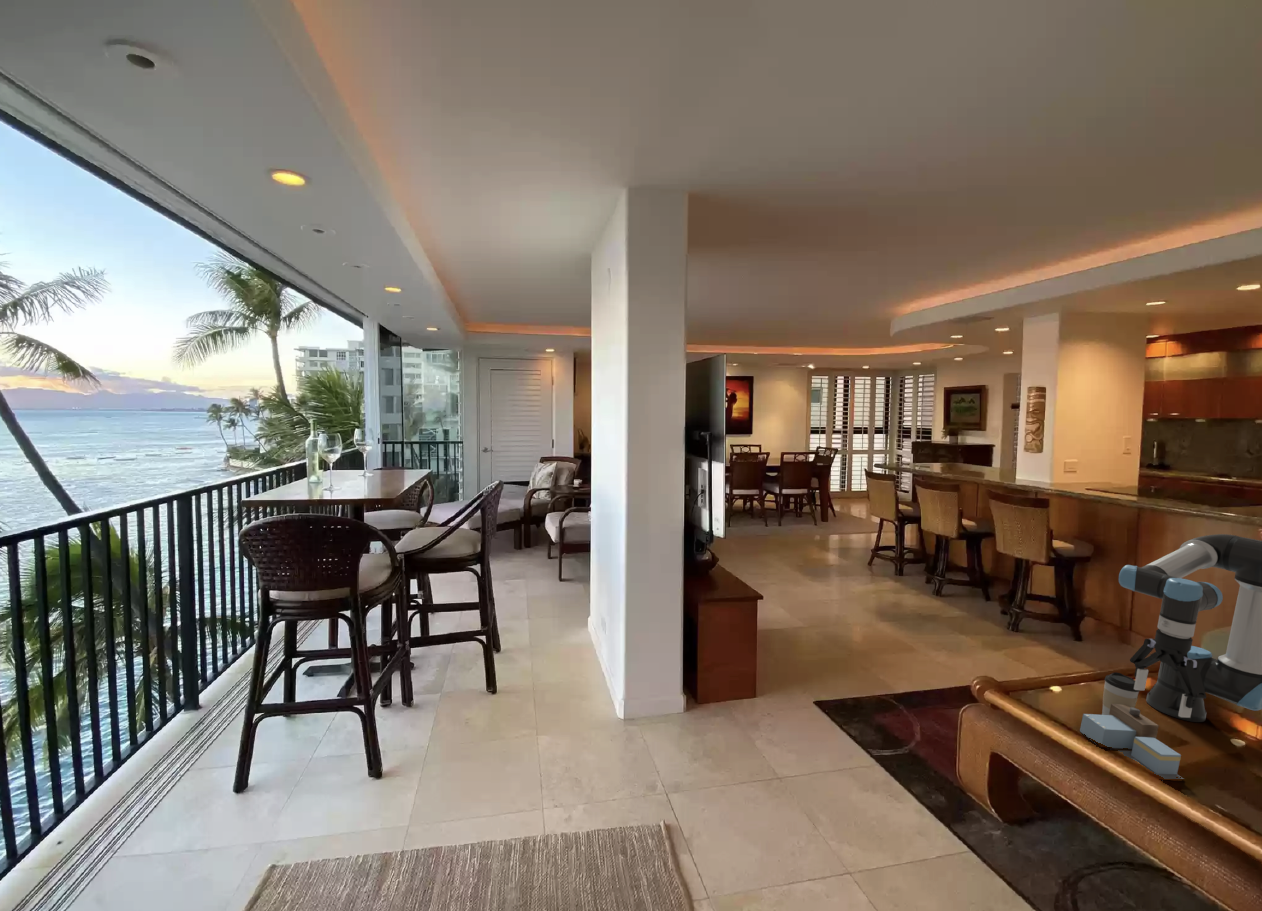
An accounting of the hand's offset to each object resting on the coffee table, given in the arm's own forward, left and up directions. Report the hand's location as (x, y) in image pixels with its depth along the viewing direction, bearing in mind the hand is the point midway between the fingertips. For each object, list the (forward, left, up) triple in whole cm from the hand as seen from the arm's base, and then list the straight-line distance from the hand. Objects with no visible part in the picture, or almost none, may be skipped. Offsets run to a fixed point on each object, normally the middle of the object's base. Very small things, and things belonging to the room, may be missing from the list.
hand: (1160, 702), depth 163 cm
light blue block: (-1, +1, -19) cm, 19 cm away
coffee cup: (-11, -23, -20) cm, 32 cm away
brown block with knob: (-5, -11, -19) cm, 23 cm away
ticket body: (+1, -11, -19) cm, 23 cm away
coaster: (+2, +1, -19) cm, 20 cm away
